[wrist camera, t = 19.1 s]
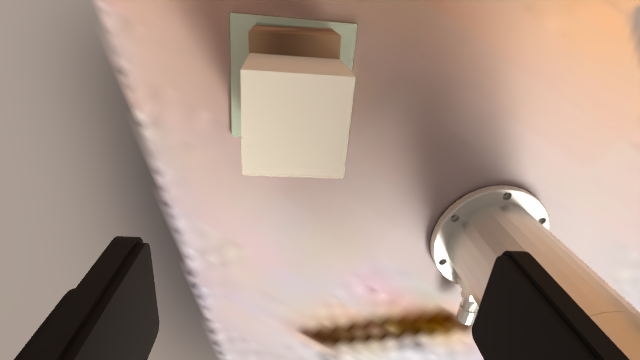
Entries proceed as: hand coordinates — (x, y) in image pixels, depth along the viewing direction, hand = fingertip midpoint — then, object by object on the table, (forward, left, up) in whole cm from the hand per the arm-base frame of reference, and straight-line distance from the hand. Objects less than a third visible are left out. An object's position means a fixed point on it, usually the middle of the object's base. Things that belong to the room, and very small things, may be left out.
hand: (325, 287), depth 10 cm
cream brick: (0, 0, -18) cm, 18 cm away
